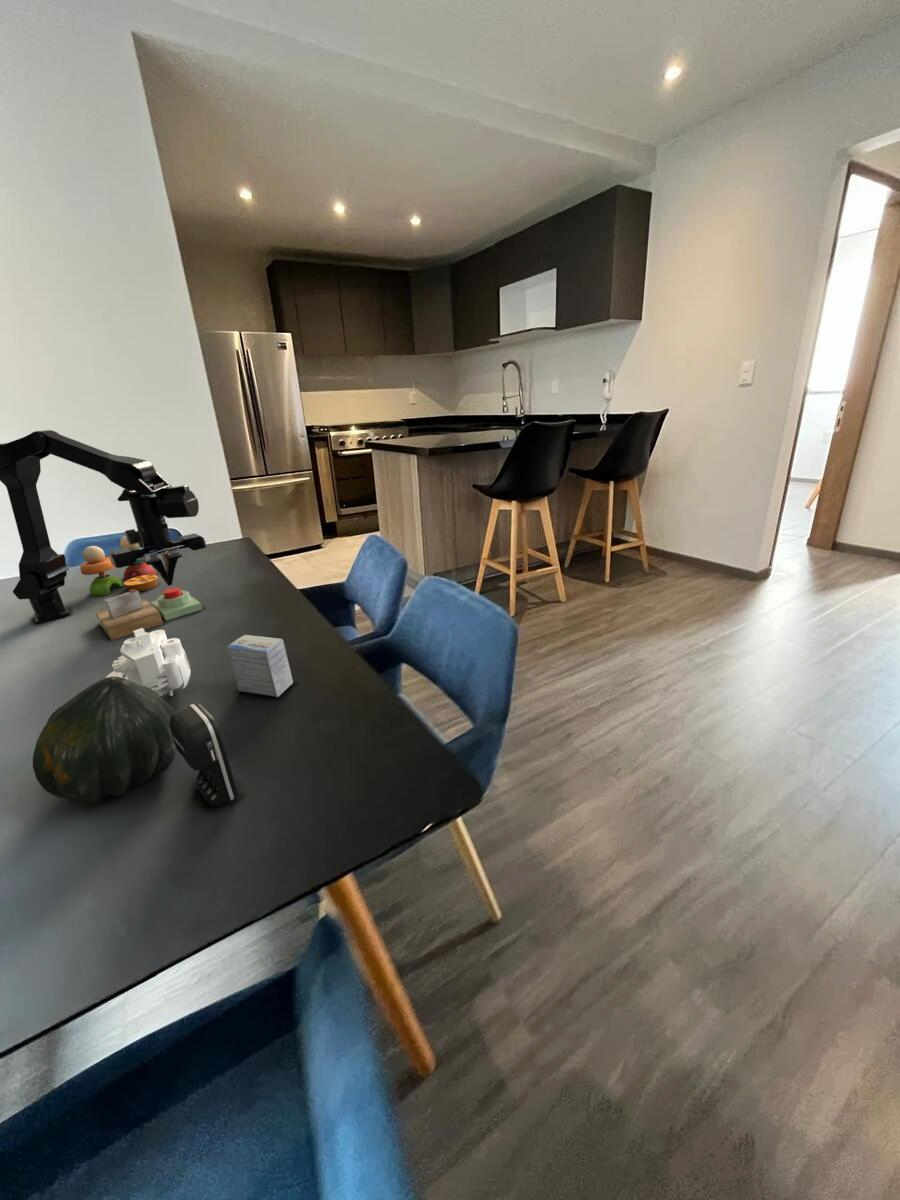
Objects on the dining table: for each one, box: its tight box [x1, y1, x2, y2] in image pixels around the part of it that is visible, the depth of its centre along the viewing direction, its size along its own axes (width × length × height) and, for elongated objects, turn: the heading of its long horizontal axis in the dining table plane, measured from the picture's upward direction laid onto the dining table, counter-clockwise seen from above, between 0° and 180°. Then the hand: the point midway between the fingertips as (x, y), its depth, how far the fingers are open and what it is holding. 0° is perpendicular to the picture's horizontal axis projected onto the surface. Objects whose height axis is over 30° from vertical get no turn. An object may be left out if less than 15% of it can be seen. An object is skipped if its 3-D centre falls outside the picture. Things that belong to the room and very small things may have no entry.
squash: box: [32, 677, 177, 806], centre depth 62 cm, size 14×15×15 cm
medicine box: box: [226, 634, 294, 698], centre depth 80 cm, size 8×4×9 cm, turn 71°
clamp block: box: [95, 598, 164, 641], centre depth 110 cm, size 12×11×3 cm
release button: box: [162, 587, 182, 599], centre depth 116 cm, size 4×4×2 cm
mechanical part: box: [105, 628, 191, 698], centre depth 78 cm, size 11×12×12 cm
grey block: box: [103, 589, 143, 618], centre depth 108 cm, size 6×2×4 cm, turn 148°
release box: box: [150, 589, 203, 621], centre depth 117 cm, size 11×8×4 cm
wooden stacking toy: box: [80, 535, 158, 597], centre depth 135 cm, size 18×17×12 cm
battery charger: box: [170, 702, 239, 808], centre depth 58 cm, size 7×4×11 cm, turn 45°
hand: (169, 584), depth 115 cm, fingers closed
